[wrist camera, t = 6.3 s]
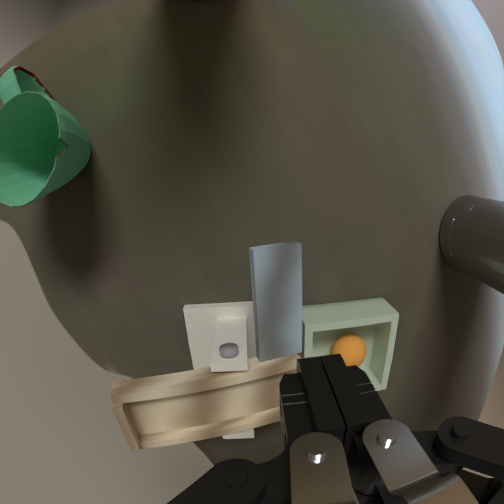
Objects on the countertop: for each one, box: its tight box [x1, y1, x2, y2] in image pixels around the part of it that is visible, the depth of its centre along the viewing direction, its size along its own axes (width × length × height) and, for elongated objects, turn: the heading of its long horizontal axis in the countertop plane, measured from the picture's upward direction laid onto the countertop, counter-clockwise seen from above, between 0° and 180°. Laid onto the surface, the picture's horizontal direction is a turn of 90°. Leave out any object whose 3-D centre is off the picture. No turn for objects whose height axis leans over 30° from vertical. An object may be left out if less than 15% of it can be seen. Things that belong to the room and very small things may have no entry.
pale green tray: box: [297, 297, 399, 391], centre depth 32 cm, size 10×10×4 cm
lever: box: [111, 241, 302, 450], centre depth 23 cm, size 17×17×3 cm
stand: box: [183, 301, 256, 439], centre depth 29 cm, size 10×12×10 cm
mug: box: [0, 66, 91, 207], centre depth 23 cm, size 15×10×10 cm
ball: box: [331, 334, 367, 366], centre depth 32 cm, size 4×4×4 cm
